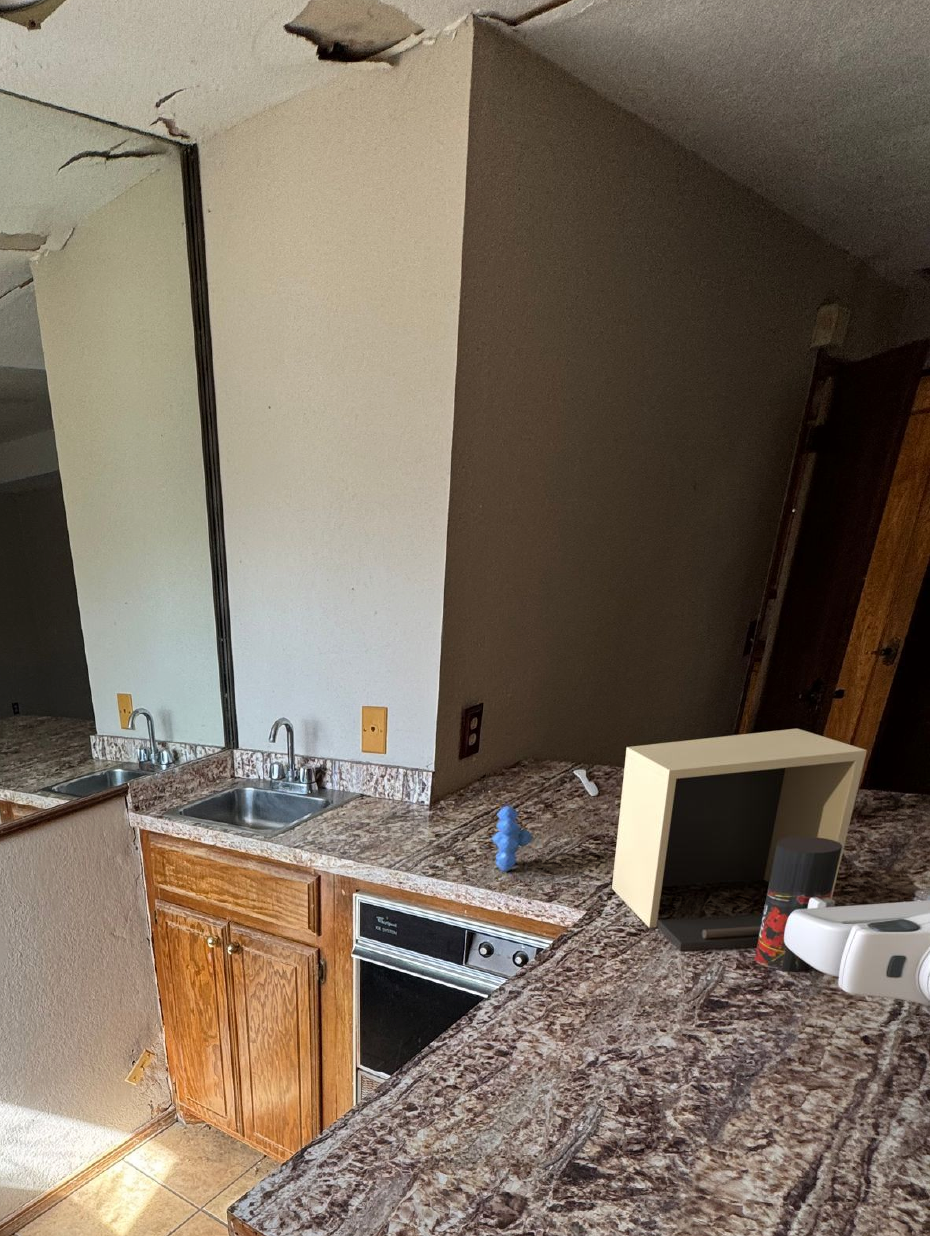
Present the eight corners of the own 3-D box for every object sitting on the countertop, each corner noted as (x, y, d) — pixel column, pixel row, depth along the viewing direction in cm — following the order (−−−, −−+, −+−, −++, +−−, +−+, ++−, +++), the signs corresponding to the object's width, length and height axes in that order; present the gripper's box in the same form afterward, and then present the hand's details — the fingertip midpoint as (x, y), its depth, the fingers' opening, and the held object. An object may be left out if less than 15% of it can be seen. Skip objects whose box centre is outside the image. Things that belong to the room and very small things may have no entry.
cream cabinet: (768, 877, 119) (797, 728, 109) (864, 940, 98) (910, 763, 88) (611, 888, 124) (626, 747, 114) (671, 951, 103) (695, 784, 93)
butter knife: (586, 769, 188) (573, 770, 189) (601, 794, 168) (586, 795, 169) (586, 770, 188) (572, 771, 189) (601, 796, 168) (586, 797, 169)
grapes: (534, 881, 131) (538, 812, 126) (490, 882, 133) (493, 814, 128) (529, 859, 141) (533, 793, 135) (489, 860, 143) (491, 796, 138)
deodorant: (825, 970, 93) (854, 850, 87) (768, 972, 94) (793, 854, 88) (798, 949, 98) (824, 835, 92) (745, 952, 100) (767, 839, 93)
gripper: (1124, 915, 65) (997, 862, 77) (841, 932, 69) (763, 880, 81) (1096, 981, 68) (978, 920, 80) (826, 994, 72) (753, 934, 84)
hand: (868, 900), depth 80 cm, fingers open, 8 cm apart
